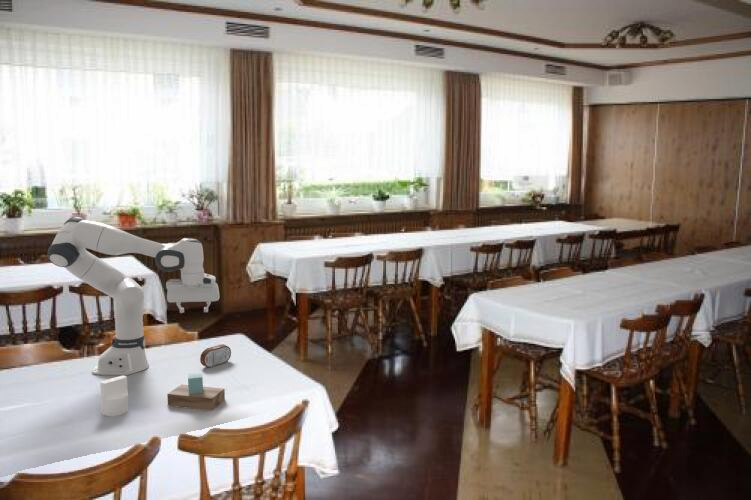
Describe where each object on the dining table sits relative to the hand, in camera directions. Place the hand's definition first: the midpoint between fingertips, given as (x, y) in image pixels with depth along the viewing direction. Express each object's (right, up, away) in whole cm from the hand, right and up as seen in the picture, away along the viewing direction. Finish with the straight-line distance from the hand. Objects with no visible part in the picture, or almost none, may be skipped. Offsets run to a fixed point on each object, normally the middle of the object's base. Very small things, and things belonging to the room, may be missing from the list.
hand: (194, 312), depth 253 cm
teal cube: (+6, -28, -18) cm, 34 cm away
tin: (+3, -26, +25) cm, 36 cm away
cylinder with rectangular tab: (-21, -33, -26) cm, 47 cm away
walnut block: (+6, -33, -17) cm, 37 cm away
